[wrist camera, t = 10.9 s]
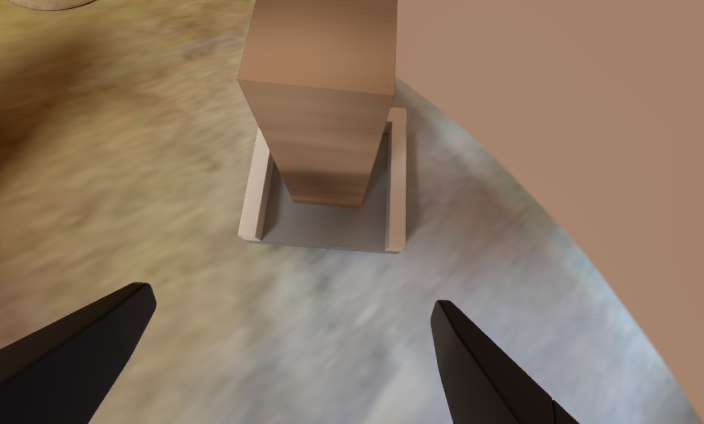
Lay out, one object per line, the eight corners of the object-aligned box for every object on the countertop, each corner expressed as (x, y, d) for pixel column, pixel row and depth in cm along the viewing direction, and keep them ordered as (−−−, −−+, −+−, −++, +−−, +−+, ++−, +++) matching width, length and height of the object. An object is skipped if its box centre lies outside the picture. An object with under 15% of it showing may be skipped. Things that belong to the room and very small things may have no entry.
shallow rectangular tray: (396, 253, 19) (405, 248, 16) (249, 242, 18) (237, 235, 16) (399, 128, 22) (406, 108, 19) (272, 116, 21) (264, 94, 19)
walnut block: (360, 208, 18) (394, 95, 8) (293, 202, 18) (236, 79, 8) (364, 149, 20) (397, -16, 9) (301, 143, 19) (263, -32, 9)
